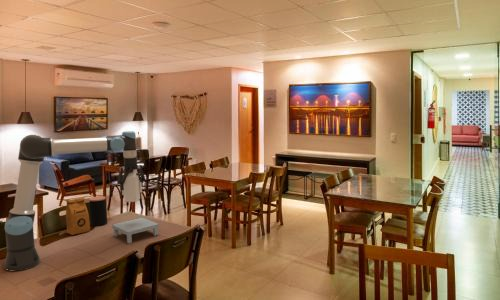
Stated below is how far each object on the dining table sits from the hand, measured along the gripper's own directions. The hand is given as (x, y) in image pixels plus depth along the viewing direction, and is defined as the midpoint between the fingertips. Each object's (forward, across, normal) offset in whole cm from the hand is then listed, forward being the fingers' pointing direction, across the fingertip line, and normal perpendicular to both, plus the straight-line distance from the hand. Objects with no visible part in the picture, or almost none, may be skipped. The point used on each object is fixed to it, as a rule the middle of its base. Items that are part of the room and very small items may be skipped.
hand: (132, 193), depth 220 cm
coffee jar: (+26, -5, +39) cm, 47 cm away
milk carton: (+4, 0, 0) cm, 4 cm away
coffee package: (+26, -21, +31) cm, 46 cm away
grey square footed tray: (+26, 0, -1) cm, 26 cm away
